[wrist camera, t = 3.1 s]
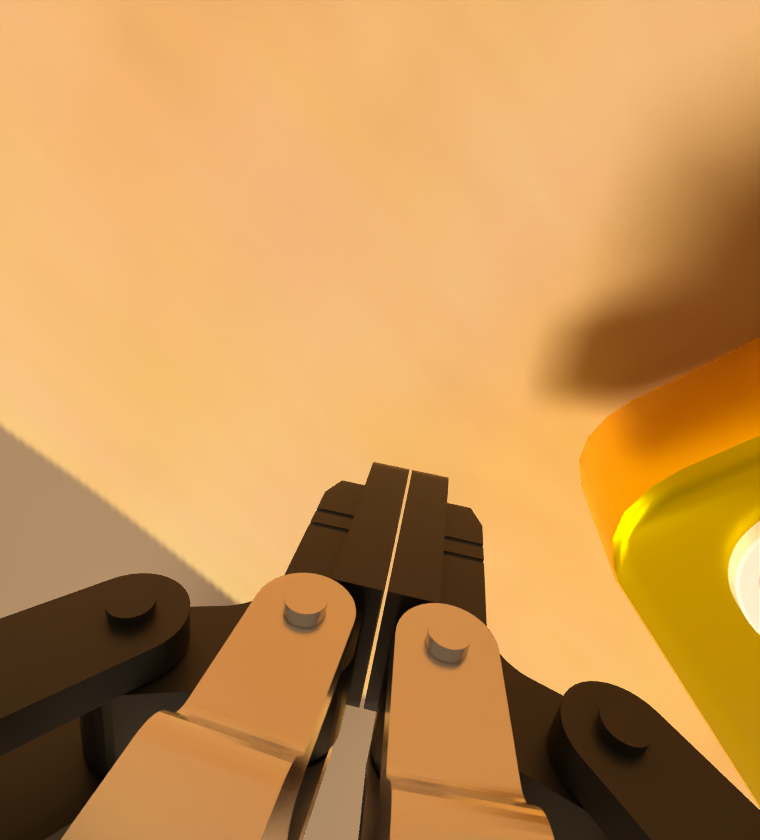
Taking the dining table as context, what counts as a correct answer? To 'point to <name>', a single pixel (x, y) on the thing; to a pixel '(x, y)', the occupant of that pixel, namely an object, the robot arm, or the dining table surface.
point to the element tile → (691, 535)
